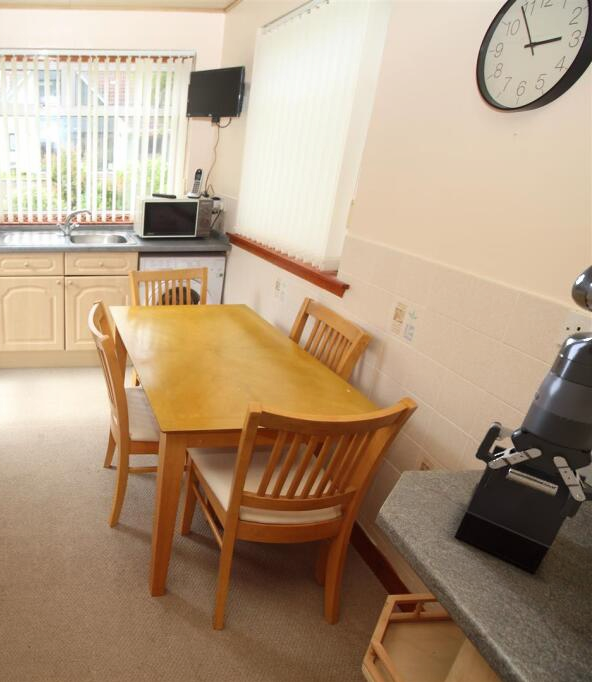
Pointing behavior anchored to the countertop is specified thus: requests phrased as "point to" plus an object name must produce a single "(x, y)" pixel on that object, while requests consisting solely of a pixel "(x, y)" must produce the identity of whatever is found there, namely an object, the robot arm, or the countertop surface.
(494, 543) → the box
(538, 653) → the countertop surface
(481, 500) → the warmer lid
